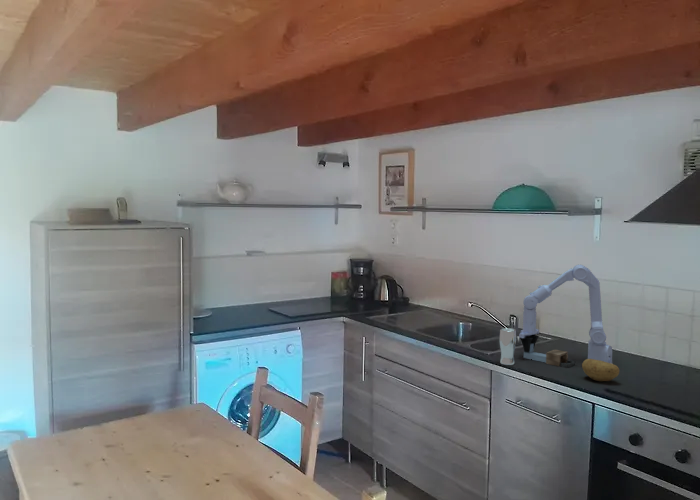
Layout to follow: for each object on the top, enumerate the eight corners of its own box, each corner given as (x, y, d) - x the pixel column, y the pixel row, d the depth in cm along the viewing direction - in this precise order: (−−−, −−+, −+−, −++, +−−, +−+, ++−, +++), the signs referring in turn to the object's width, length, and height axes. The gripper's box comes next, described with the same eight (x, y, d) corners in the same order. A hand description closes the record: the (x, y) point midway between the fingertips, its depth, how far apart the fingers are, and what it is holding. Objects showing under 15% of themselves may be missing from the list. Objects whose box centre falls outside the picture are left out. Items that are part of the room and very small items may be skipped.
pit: (575, 364, 252) (575, 361, 252) (567, 367, 247) (567, 364, 247) (567, 363, 255) (567, 360, 255) (560, 366, 250) (560, 363, 250)
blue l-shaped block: (552, 361, 258) (553, 346, 258) (548, 362, 255) (548, 348, 255) (528, 356, 267) (528, 342, 266) (523, 357, 264) (523, 343, 263)
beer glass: (504, 360, 259) (505, 327, 258) (518, 363, 254) (519, 329, 253) (496, 363, 254) (496, 329, 253) (510, 366, 249) (511, 332, 248)
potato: (613, 387, 221) (613, 366, 220) (577, 379, 231) (578, 359, 230) (623, 382, 227) (624, 362, 227) (588, 374, 238) (589, 355, 237)
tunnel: (567, 363, 255) (567, 351, 255) (559, 366, 250) (559, 354, 249) (554, 360, 260) (554, 349, 259) (546, 363, 254) (546, 352, 254)
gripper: (529, 318, 271) (528, 347, 272) (513, 322, 261) (512, 352, 262) (543, 320, 266) (542, 349, 267) (527, 325, 256) (526, 355, 257)
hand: (528, 351), depth 264 cm, fingers closed on blue l-shaped block, 3 cm apart
